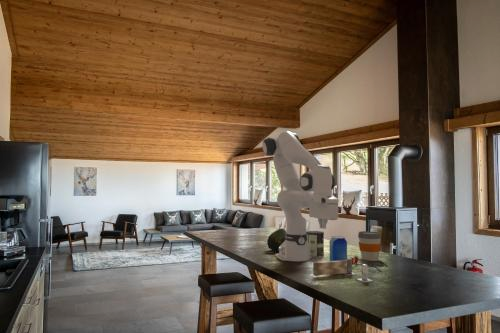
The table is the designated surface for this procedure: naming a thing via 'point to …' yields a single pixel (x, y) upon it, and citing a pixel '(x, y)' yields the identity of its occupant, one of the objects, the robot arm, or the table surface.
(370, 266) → the glasses
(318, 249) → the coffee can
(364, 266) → the gate frame
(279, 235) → the squash
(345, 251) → the beer can
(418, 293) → the table surface
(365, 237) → the reusable coffee cup
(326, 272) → the gate
